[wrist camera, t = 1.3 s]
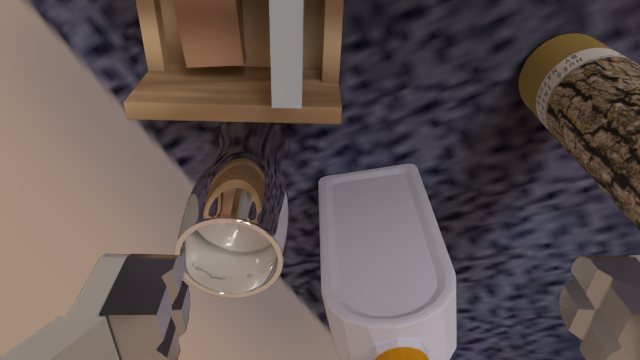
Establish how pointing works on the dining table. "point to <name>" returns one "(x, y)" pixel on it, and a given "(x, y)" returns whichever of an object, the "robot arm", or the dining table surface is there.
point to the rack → (237, 70)
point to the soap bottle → (385, 267)
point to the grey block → (286, 52)
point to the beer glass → (238, 213)
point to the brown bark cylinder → (590, 110)
